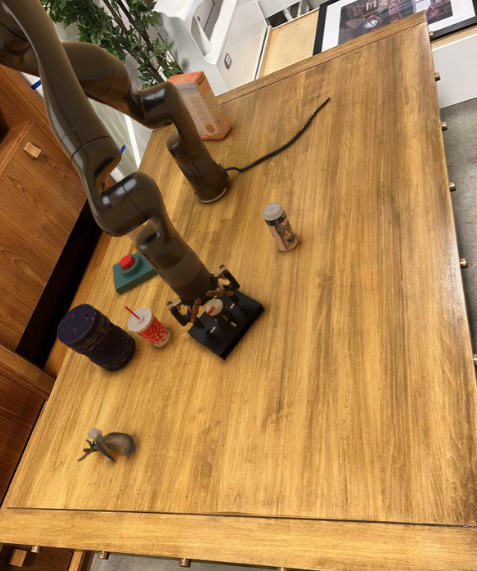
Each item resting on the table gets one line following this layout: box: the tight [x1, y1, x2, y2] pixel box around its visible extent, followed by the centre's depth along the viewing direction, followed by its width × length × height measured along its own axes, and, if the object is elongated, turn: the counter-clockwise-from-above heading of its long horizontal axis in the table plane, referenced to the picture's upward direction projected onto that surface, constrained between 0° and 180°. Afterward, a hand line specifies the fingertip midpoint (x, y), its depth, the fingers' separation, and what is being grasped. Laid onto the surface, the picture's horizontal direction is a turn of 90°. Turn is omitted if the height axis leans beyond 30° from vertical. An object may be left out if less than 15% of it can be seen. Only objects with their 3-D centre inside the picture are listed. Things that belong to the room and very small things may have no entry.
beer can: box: [262, 201, 298, 252], centre depth 88 cm, size 5×5×12 cm
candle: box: [125, 223, 145, 246], centre depth 112 cm, size 6×6×10 cm
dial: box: [205, 298, 231, 326], centre depth 82 cm, size 4×4×5 cm
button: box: [119, 254, 135, 269], centre depth 105 cm, size 4×4×2 cm
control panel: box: [186, 289, 266, 362], centre depth 85 cm, size 14×11×3 cm
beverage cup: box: [124, 305, 171, 348], centre depth 86 cm, size 6×6×14 cm
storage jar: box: [56, 303, 137, 373], centre depth 88 cm, size 10×10×15 cm
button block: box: [112, 250, 159, 295], centre depth 107 cm, size 12×10×4 cm
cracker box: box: [167, 70, 231, 141], centre depth 128 cm, size 14×6×21 cm, turn 58°
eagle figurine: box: [76, 427, 136, 464], centre depth 77 cm, size 8×7×9 cm
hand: (219, 314), depth 83 cm, fingers open, 8 cm apart
